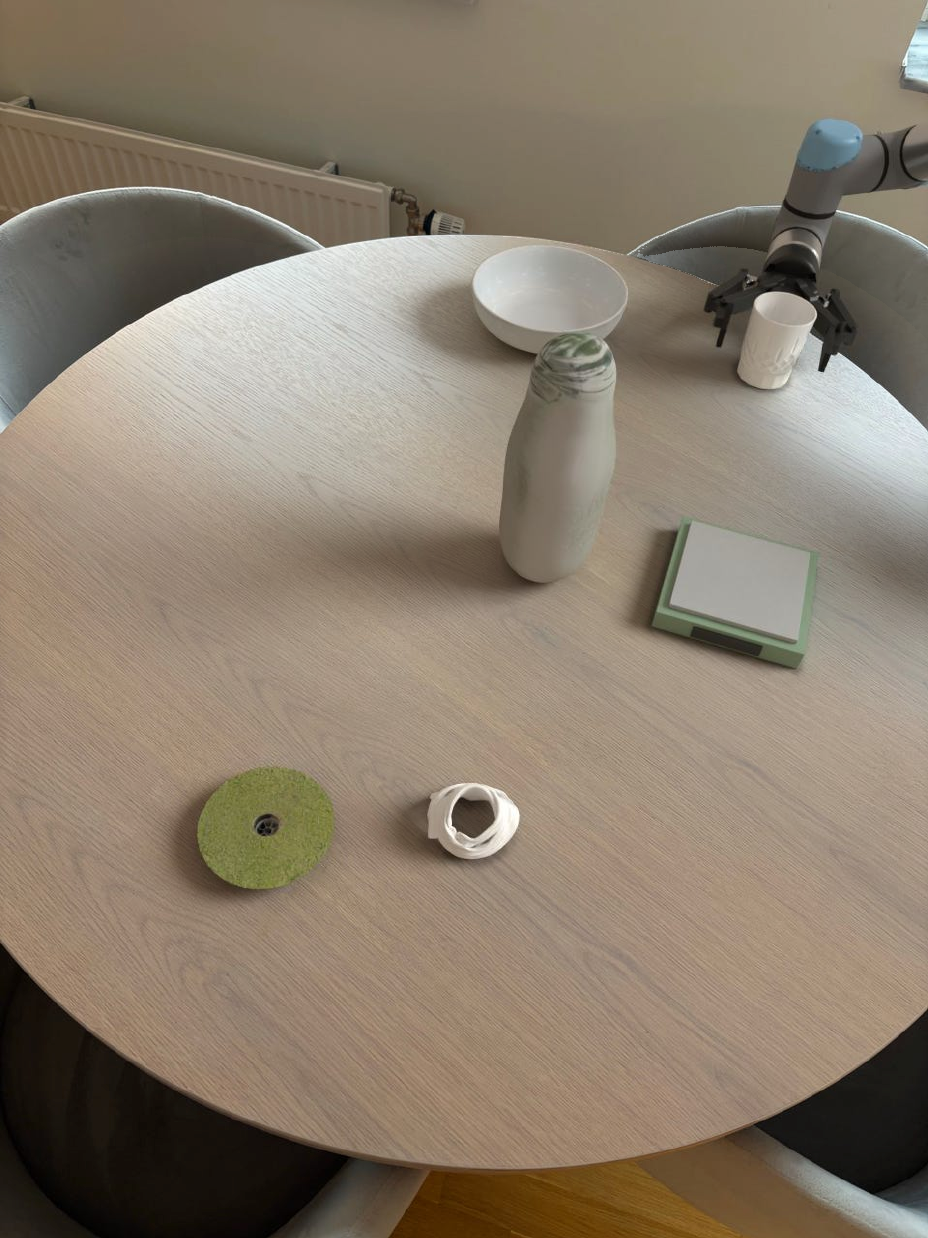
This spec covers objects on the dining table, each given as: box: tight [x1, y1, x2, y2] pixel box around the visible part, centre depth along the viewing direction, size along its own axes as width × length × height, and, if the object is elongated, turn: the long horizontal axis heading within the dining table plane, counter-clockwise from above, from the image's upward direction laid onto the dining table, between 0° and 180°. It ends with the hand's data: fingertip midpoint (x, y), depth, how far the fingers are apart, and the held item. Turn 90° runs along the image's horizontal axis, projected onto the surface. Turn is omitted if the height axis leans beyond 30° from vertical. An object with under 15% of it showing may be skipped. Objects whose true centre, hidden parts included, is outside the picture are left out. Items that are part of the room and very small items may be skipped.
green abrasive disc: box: [196, 765, 335, 890], centre depth 80 cm, size 11×11×2 cm
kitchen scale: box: [651, 515, 820, 670], centre depth 100 cm, size 15×15×3 cm
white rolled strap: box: [427, 782, 520, 860], centre depth 81 cm, size 8×7×5 cm
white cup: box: [736, 292, 817, 390], centre depth 124 cm, size 8×8×10 cm
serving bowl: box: [470, 244, 629, 354], centre depth 128 cm, size 21×21×7 cm
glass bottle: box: [498, 332, 617, 584], centre depth 92 cm, size 10×10×28 cm
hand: (772, 350), depth 121 cm, fingers open, 12 cm apart
